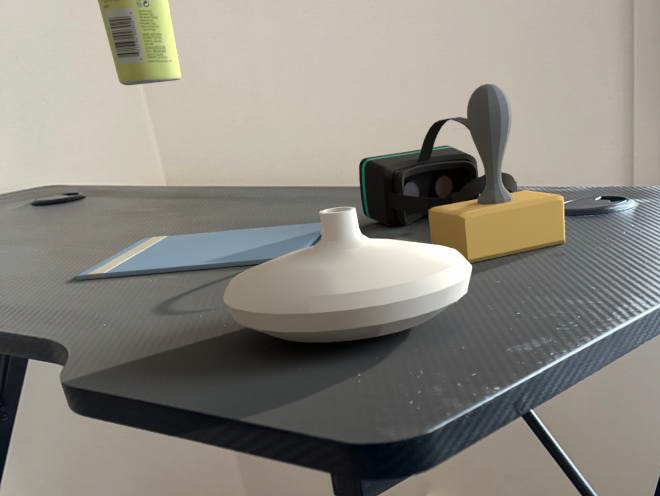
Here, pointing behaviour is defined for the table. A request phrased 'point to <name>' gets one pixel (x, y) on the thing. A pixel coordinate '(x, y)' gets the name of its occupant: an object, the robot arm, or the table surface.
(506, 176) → the virtual reality headset
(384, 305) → the vase
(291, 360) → the table surface
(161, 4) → the tube
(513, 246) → the rubber stamp
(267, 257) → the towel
